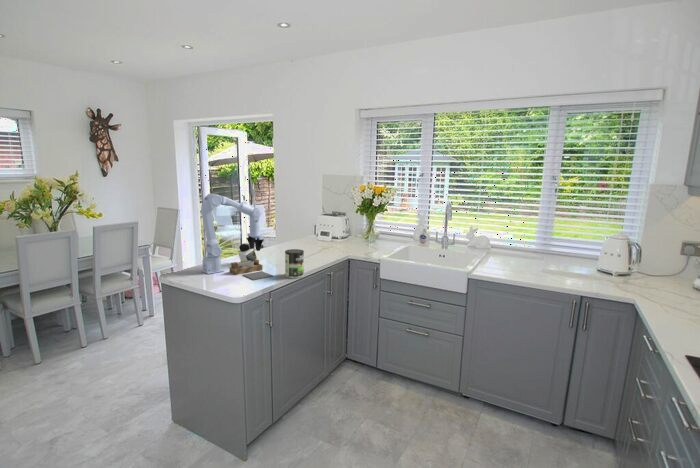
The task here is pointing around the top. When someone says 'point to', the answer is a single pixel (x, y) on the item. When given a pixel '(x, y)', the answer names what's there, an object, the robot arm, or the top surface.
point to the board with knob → (238, 270)
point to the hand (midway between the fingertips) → (255, 249)
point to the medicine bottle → (247, 253)
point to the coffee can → (294, 263)
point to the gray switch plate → (257, 275)
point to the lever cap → (246, 264)
